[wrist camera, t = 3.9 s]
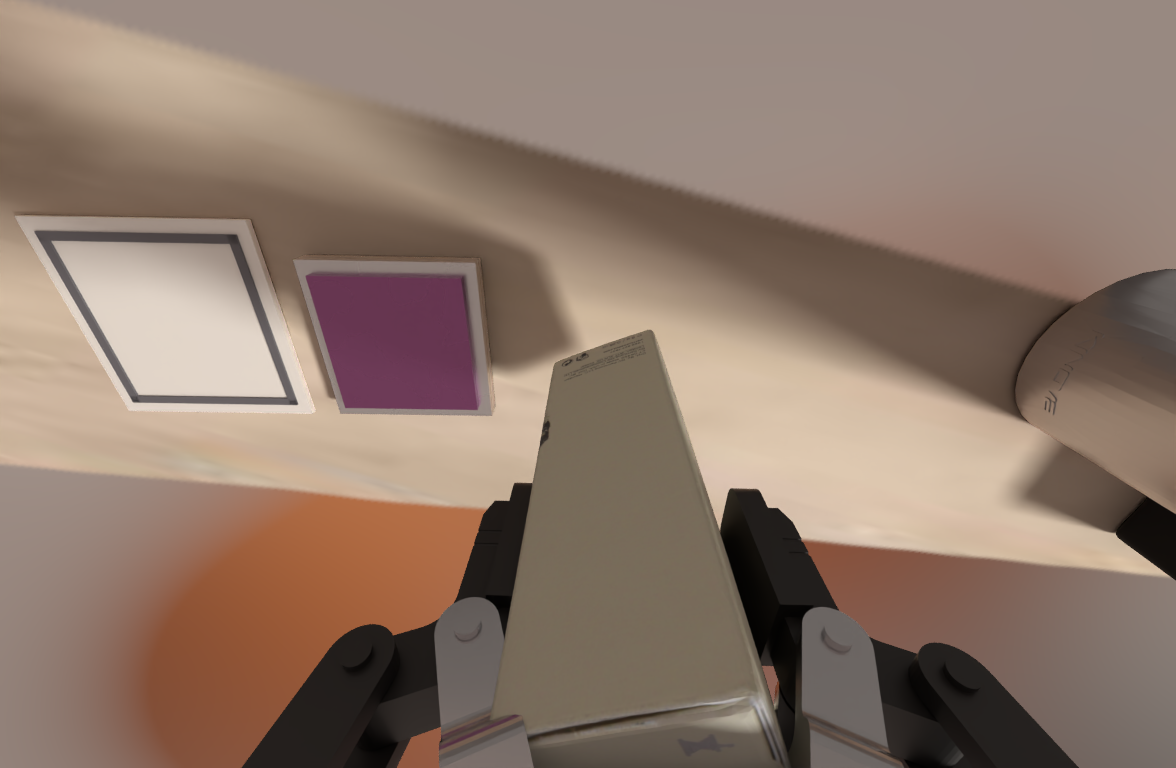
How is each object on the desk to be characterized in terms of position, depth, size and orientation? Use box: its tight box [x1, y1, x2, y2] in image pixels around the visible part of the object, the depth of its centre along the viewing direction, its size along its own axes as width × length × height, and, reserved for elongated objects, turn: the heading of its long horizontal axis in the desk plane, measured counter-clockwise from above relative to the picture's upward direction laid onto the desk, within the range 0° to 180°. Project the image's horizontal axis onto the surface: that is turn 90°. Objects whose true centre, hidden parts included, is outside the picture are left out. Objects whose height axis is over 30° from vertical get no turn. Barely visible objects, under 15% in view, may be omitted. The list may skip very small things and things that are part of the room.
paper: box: [14, 215, 316, 414], centre depth 21 cm, size 10×10×1 cm
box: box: [490, 330, 791, 768], centre depth 12 cm, size 5×4×13 cm
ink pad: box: [293, 255, 496, 416], centre depth 21 cm, size 8×8×1 cm
